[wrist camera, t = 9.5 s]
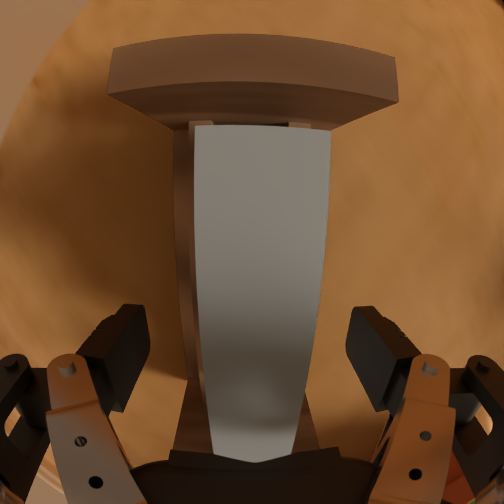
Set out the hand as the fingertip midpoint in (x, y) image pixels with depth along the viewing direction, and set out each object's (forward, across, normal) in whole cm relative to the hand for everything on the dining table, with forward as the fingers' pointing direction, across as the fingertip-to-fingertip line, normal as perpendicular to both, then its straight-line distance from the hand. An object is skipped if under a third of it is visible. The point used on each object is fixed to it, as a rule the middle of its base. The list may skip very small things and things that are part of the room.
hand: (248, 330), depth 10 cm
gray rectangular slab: (+6, 0, 0) cm, 6 cm away
